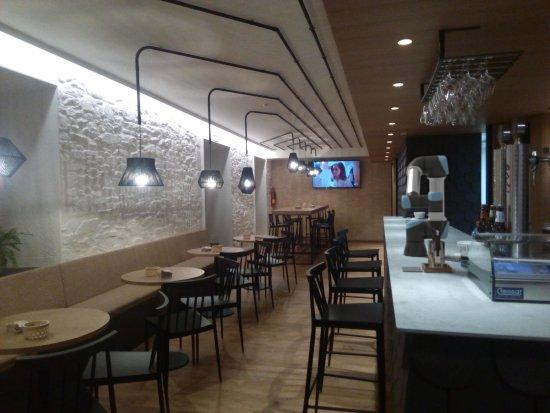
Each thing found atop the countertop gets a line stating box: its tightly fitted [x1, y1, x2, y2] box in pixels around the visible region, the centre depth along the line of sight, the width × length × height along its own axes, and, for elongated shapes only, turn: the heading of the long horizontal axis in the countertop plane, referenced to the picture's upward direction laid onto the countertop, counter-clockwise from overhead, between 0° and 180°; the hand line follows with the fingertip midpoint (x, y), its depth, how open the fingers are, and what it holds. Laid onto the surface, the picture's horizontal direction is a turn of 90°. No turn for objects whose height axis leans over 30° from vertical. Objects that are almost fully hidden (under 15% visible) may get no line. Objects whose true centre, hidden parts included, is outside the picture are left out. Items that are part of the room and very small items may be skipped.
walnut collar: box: [421, 262, 453, 274], centre depth 234 cm, size 14×14×2 cm
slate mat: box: [401, 266, 423, 273], centre depth 237 cm, size 12×10×1 cm
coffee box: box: [427, 239, 446, 268], centre depth 233 cm, size 9×6×16 cm
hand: (436, 260), depth 234 cm, fingers closed on coffee box, 10 cm apart
